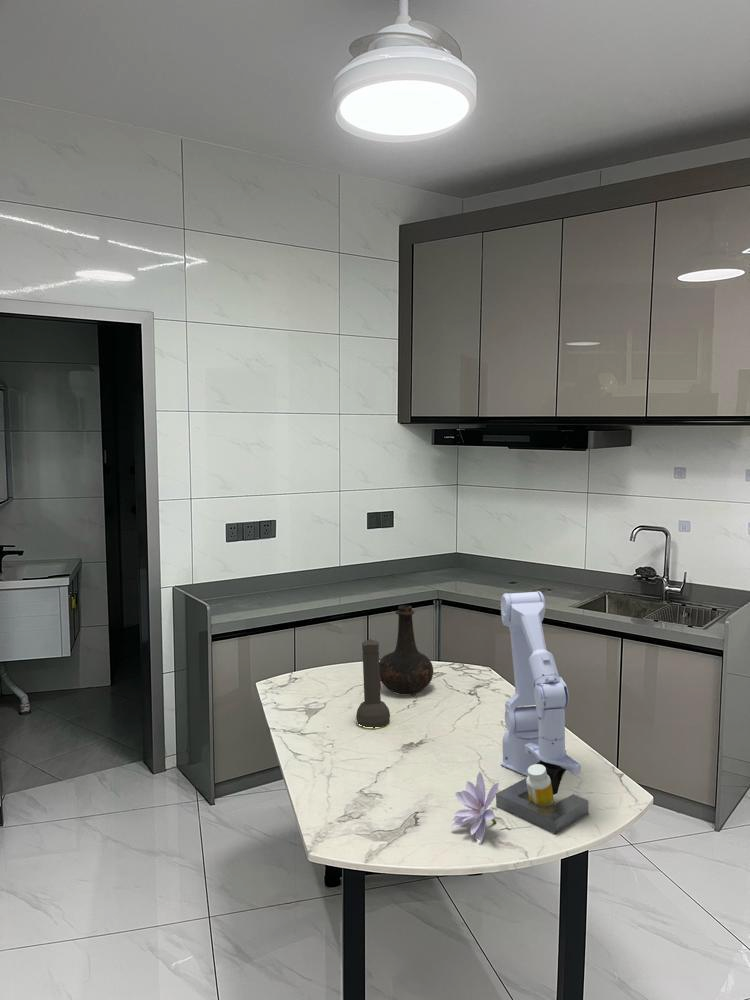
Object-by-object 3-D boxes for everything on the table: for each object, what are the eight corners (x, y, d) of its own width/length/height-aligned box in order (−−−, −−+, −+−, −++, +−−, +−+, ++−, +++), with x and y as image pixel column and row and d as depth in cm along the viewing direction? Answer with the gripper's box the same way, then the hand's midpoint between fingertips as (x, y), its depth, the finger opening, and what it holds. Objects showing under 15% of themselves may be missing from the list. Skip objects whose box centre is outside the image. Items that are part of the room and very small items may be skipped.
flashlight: (357, 730, 213) (391, 728, 214) (353, 645, 211) (388, 643, 211) (355, 717, 223) (388, 715, 223) (352, 635, 220) (385, 633, 221)
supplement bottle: (526, 810, 166) (519, 773, 164) (537, 796, 170) (531, 759, 168) (548, 817, 163) (541, 779, 161) (559, 803, 167) (553, 765, 164)
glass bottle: (376, 682, 252) (373, 601, 249) (428, 679, 254) (426, 597, 251) (382, 702, 234) (379, 614, 232) (438, 697, 236) (436, 610, 233)
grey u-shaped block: (496, 806, 169) (496, 793, 168) (529, 788, 176) (529, 776, 176) (555, 834, 156) (555, 820, 156) (588, 813, 164) (588, 800, 164)
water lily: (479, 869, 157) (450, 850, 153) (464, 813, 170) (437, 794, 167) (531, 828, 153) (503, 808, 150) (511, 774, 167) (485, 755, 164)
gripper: (589, 740, 164) (590, 799, 165) (538, 720, 175) (539, 776, 177) (568, 749, 160) (569, 810, 161) (518, 729, 171) (519, 785, 173)
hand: (552, 793), depth 169 cm, fingers closed, pressing on supplement bottle
